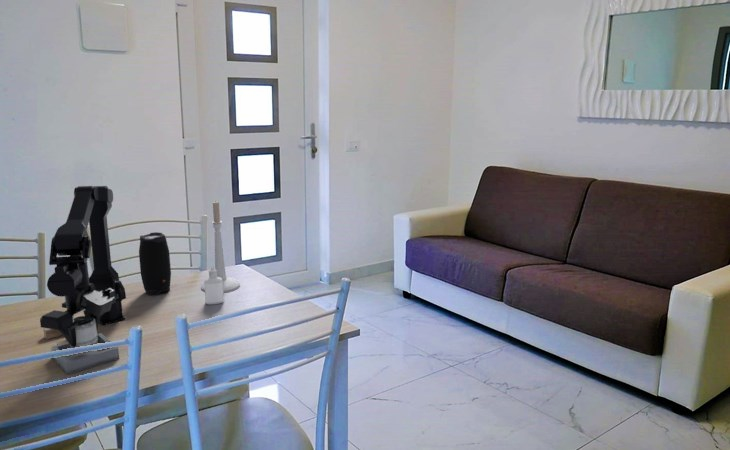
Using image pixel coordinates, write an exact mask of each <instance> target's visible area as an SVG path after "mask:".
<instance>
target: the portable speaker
mask: <svg viewBox="0 0 730 450" xmlns="http://www.w3.org/2000/svg"><path fill="white" fill-rule="evenodd" d="M138 247H139V248H138V257H139V267H140V268H139V270H140V276H141V281H142V285H143V288H144V291H145V293H146V295H148V296H158V295H159V294H160V293H163V292H166V293H168V292H171V279H172V271H171V269H172V268H171V258H170V257H171V255H170V250H169V246H168V241H167V238H166V235H165V234H163V232H157V231H154V232H150V233H148V234H144V235H140V236H139V246H138Z"/></svg>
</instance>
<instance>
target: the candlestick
mask: <svg viewBox="0 0 730 450" xmlns="http://www.w3.org/2000/svg"><path fill="white" fill-rule="evenodd" d="M212 211H213V212H212V213H213V221H211V223H212V224H213V225H212V227H213V228H214V269H215V270H217V277H220V278H222V281H223V294H224V293H230V292H233V291H235V290H237V289H239V288H240V287H241V283H240V281H239V280H238V279H236V278H234V277H229V276H227V275H226V267H225V258H224V248H223V241H222V231H221V228H222V223H223V221H222V220H221V217H220V216H221V214H220V202H219V201H216V200H215V201H213V202H212ZM201 290H202V291H204V292H205V286H204V283H202V285H201Z"/></svg>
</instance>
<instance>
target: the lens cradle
mask: <svg viewBox="0 0 730 450" xmlns="http://www.w3.org/2000/svg"><path fill="white" fill-rule="evenodd" d="M43 335H44V338H45V339H46V340H49V339H53V338H56V337H60V336H63V335H62V333H61V332H60V331H59V330H55V329H49V328H43ZM67 342H68V341H67V340H66V339H64V340H60V341H57V342H56V345H60V344H63V343H67Z"/></svg>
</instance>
